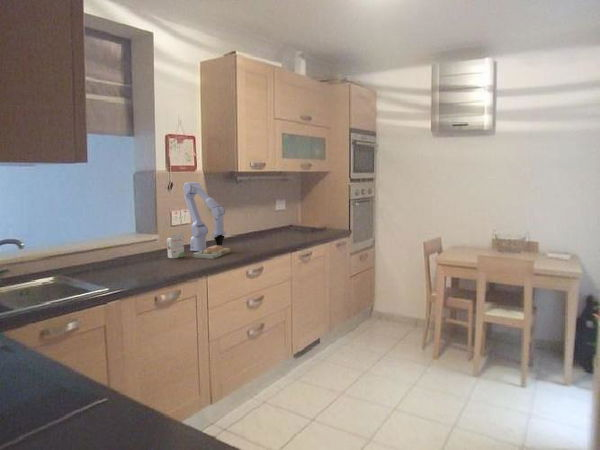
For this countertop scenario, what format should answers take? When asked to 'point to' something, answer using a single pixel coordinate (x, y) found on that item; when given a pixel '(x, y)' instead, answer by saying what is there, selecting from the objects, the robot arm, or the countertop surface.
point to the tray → (206, 255)
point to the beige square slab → (223, 251)
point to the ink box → (175, 245)
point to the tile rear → (217, 246)
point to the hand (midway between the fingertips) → (219, 247)
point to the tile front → (212, 249)
